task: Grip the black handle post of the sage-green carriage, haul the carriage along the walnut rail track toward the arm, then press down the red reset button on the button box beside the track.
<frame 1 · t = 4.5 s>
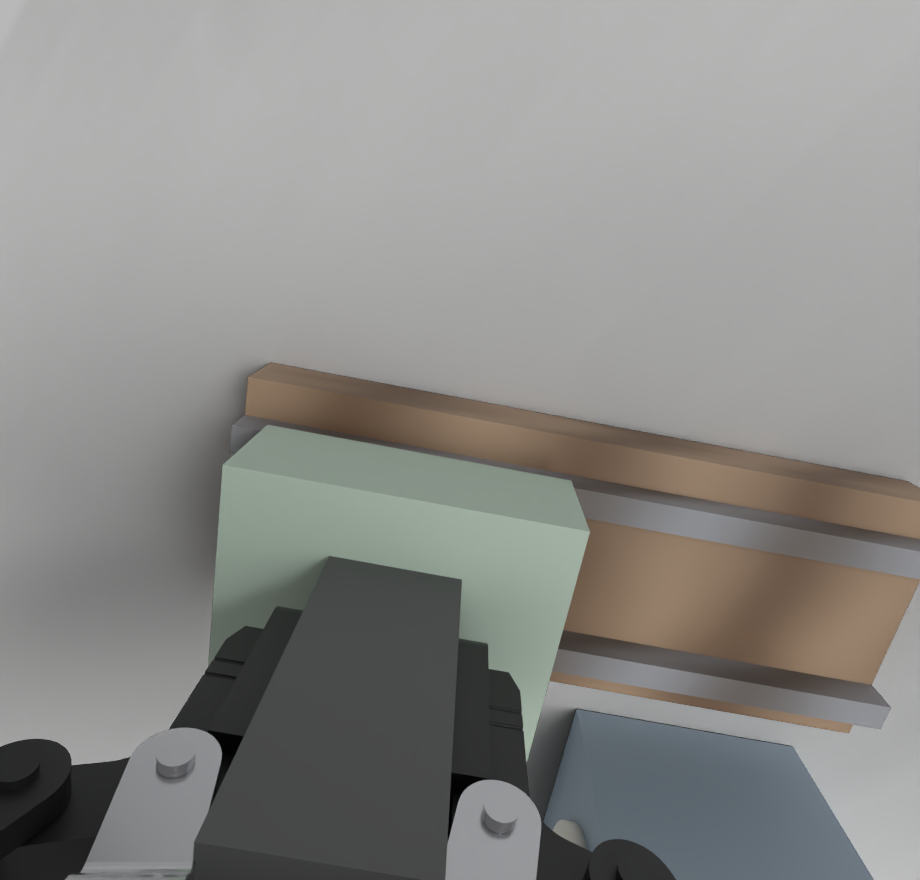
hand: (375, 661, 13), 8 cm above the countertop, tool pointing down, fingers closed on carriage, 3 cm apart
carriage: (371, 682, 13), point 8 cm above the countertop, slide at 0.0 cm, touching gripper
rail track: (563, 538, 21), on the countertop
button box: (658, 801, 24), on the countertop
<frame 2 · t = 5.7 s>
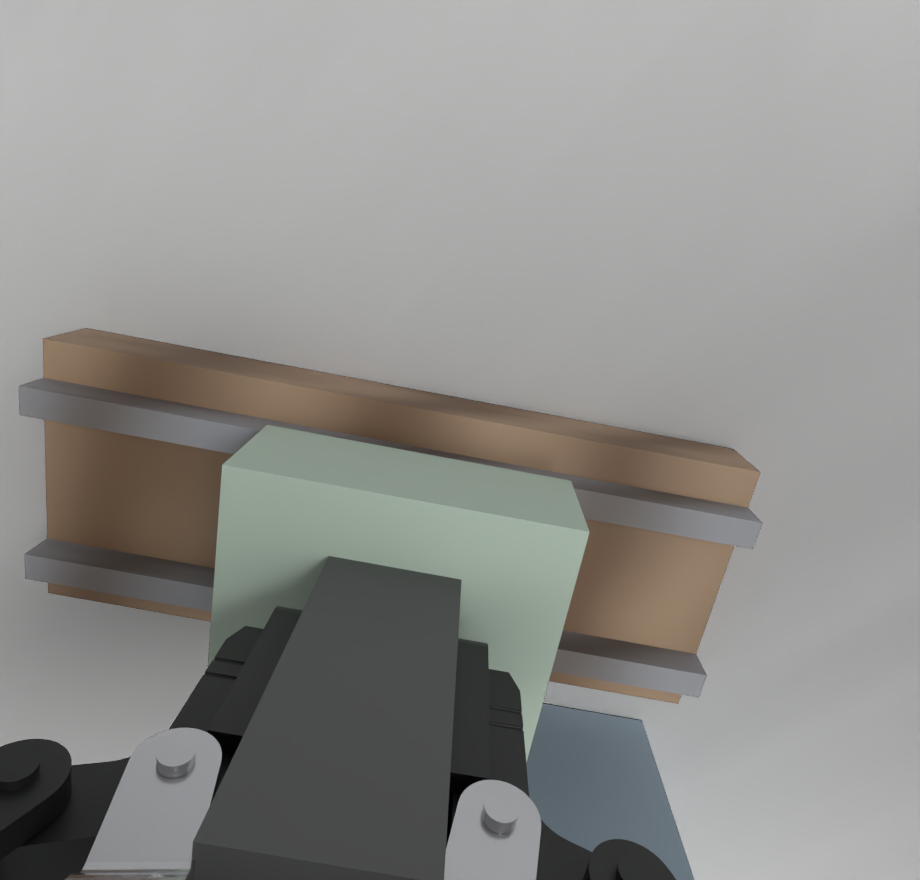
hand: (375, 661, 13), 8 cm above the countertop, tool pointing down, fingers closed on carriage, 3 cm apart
carriage: (371, 682, 13), point 8 cm above the countertop, slide at 5.6 cm, touching gripper
rail track: (394, 507, 21), on the countertop
button box: (512, 777, 24), on the countertop
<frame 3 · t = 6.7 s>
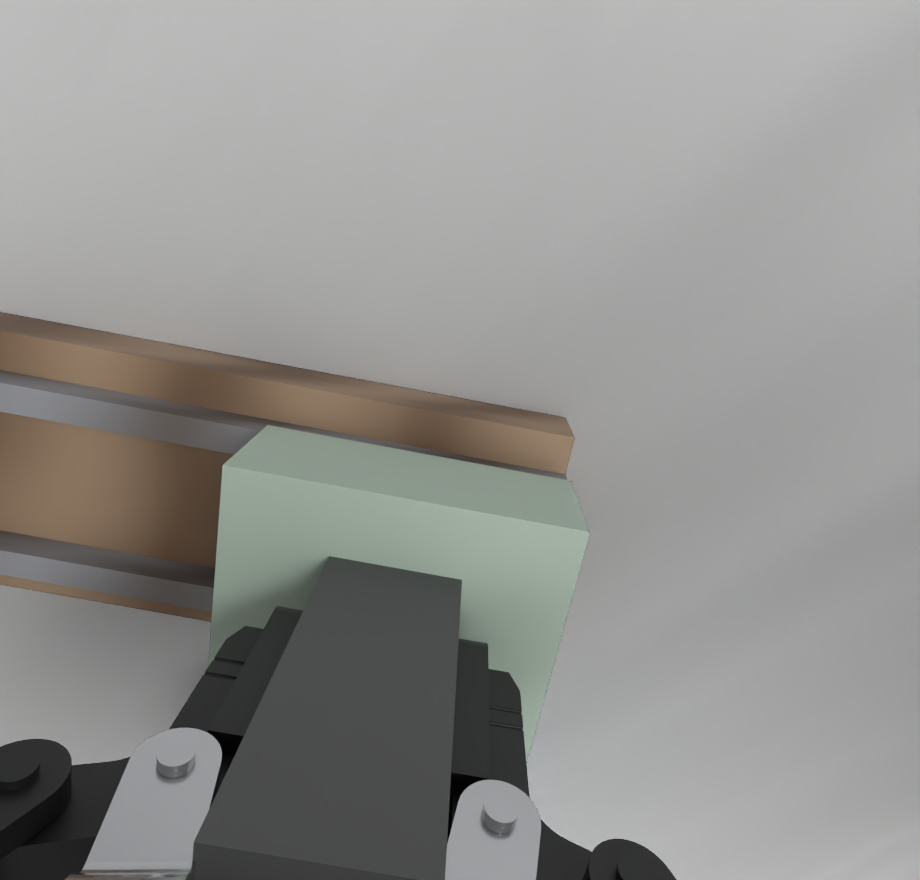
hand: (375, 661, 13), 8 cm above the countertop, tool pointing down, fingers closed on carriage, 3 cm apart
carriage: (371, 683, 13), point 8 cm above the countertop, slide at 10.9 cm, touching gripper
rail track: (232, 478, 20), on the countertop
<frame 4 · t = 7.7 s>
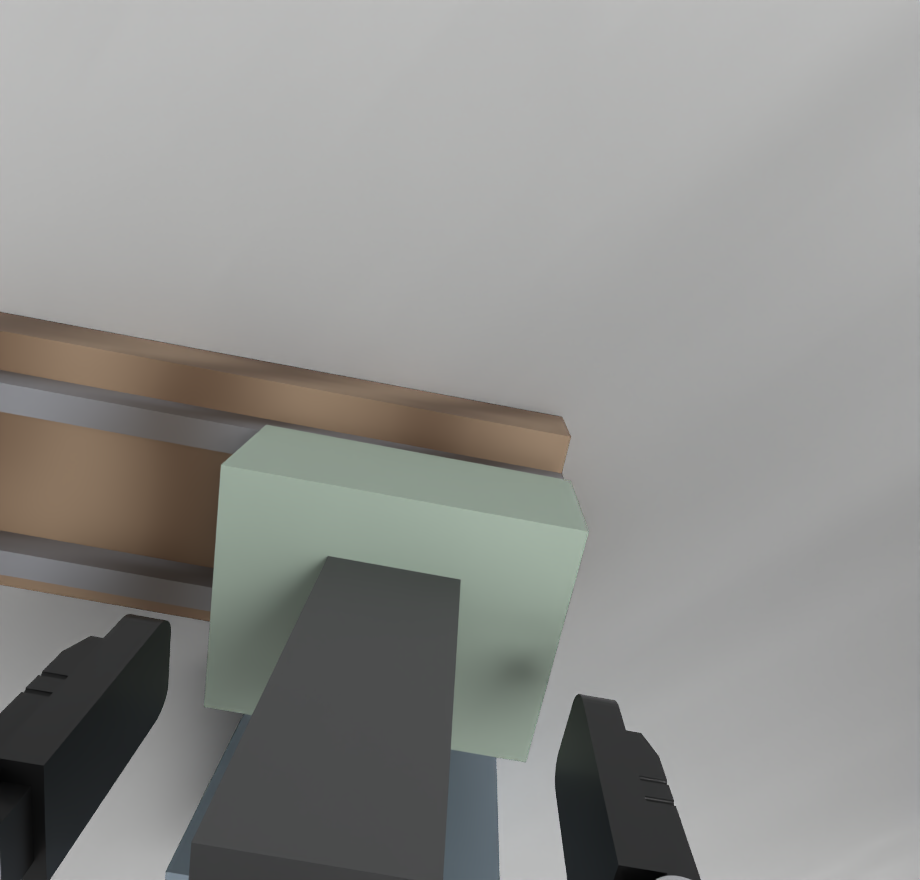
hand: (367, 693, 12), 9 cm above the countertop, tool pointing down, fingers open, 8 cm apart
carriage: (370, 683, 13), point 8 cm above the countertop, slide at 11.0 cm
rail track: (228, 477, 20), on the countertop
button box: (370, 752, 24), on the countertop
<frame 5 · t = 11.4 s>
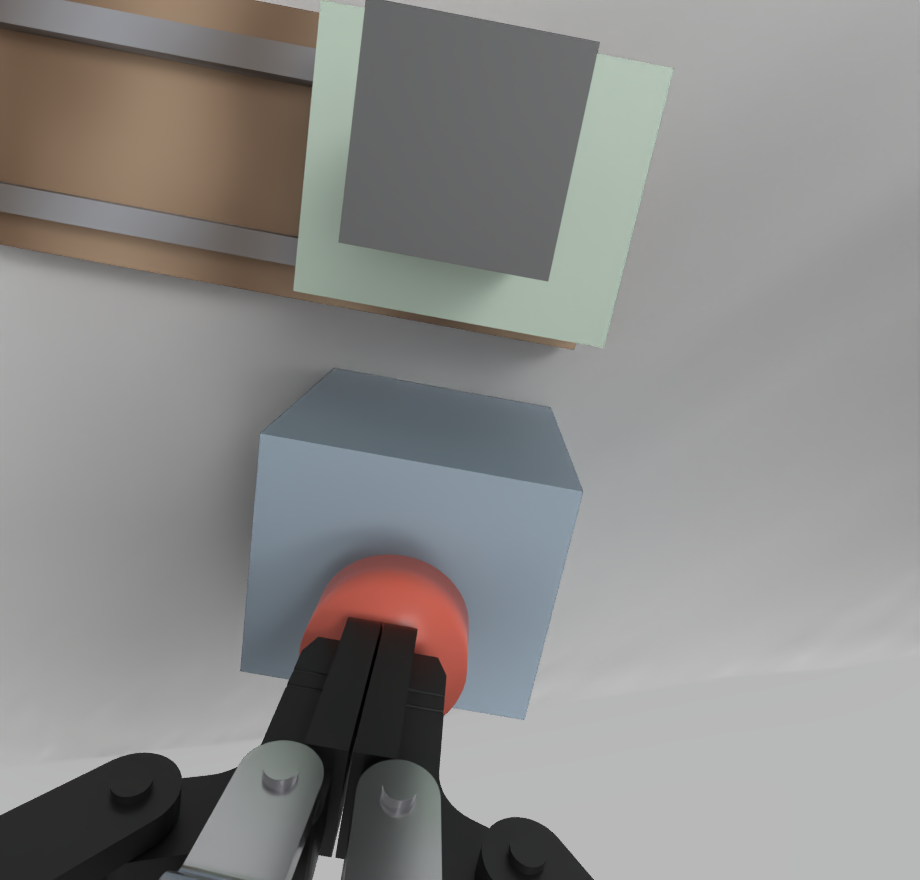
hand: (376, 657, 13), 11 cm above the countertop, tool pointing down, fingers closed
carriage: (470, 179, 13), point 8 cm above the countertop, slide at 11.0 cm
rail track: (297, 166, 21), on the countertop
reset button: (388, 643, 14), point 10 cm above the countertop, slide at 0.2 cm, touching gripper
button box: (427, 476, 24), on the countertop
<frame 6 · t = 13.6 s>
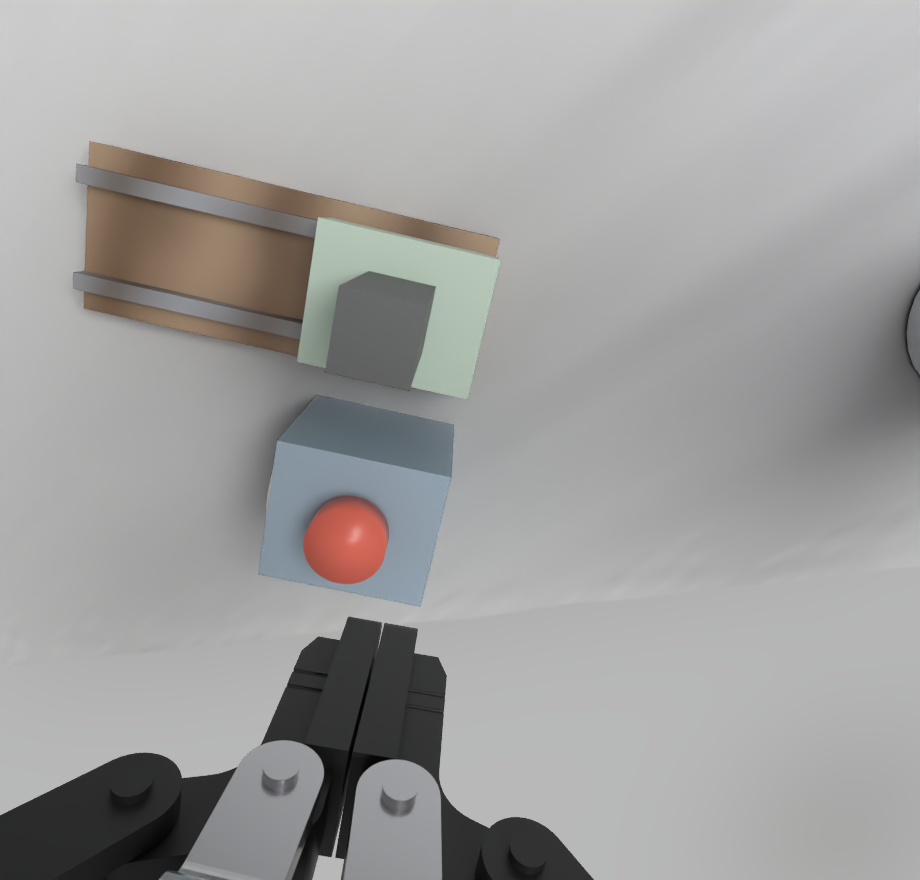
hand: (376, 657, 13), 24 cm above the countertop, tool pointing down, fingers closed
carriage: (391, 318, 26), point 8 cm above the countertop, slide at 11.0 cm
rail track: (297, 271, 34), on the countertop
reset button: (347, 539, 29), point 9 cm above the countertop, slide at 1.3 cm
button box: (374, 465, 37), on the countertop
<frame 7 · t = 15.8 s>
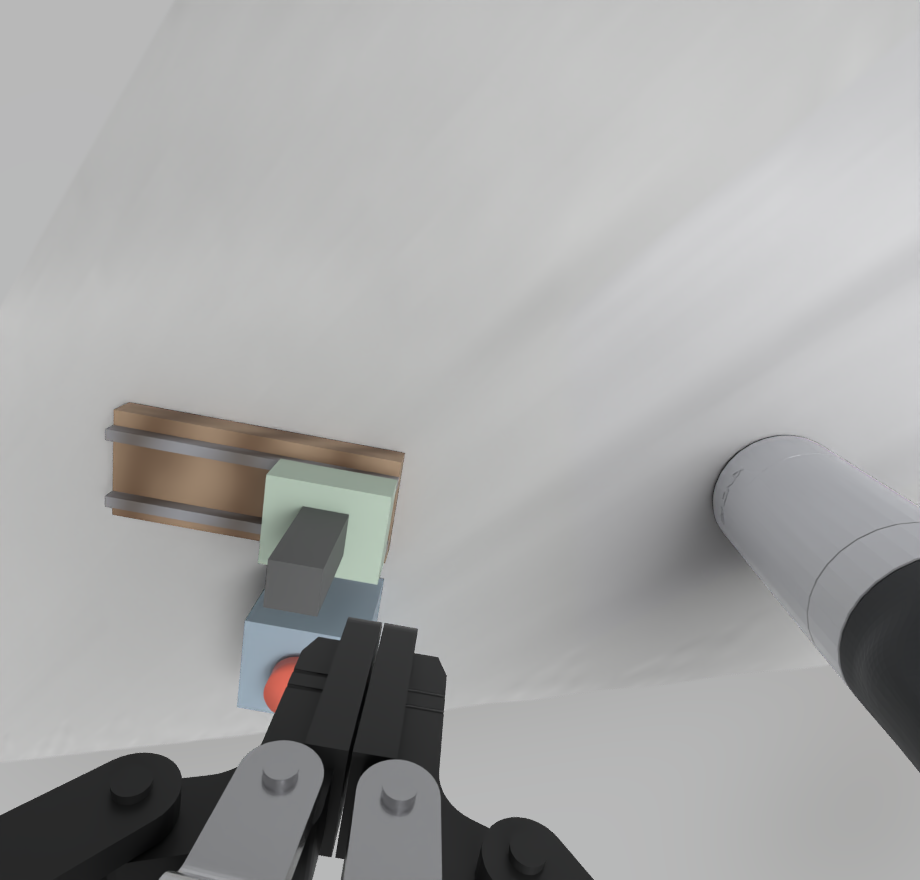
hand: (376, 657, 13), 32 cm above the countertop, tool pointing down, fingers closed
carriage: (315, 545, 39), point 8 cm above the countertop, slide at 11.0 cm
rail track: (263, 478, 47), on the countertop
reset button: (294, 688, 41), point 9 cm above the countertop, slide at 1.3 cm
button box: (327, 608, 50), on the countertop
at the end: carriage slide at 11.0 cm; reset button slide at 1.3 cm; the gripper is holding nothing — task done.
